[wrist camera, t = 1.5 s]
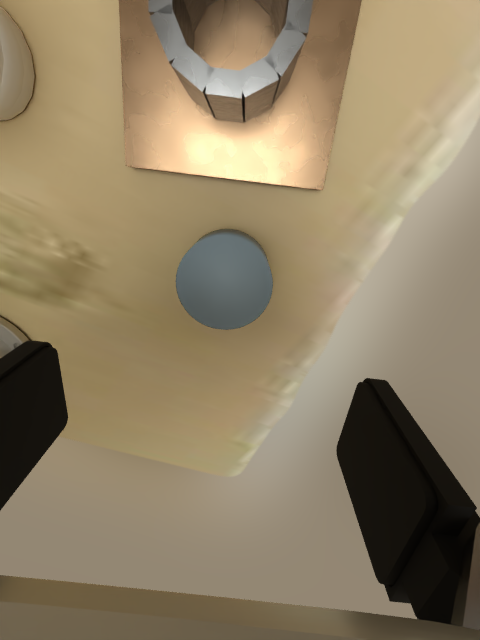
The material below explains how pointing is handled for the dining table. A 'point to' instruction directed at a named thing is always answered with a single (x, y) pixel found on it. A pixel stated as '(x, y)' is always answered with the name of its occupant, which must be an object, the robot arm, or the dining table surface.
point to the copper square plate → (235, 86)
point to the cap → (225, 280)
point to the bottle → (14, 69)
